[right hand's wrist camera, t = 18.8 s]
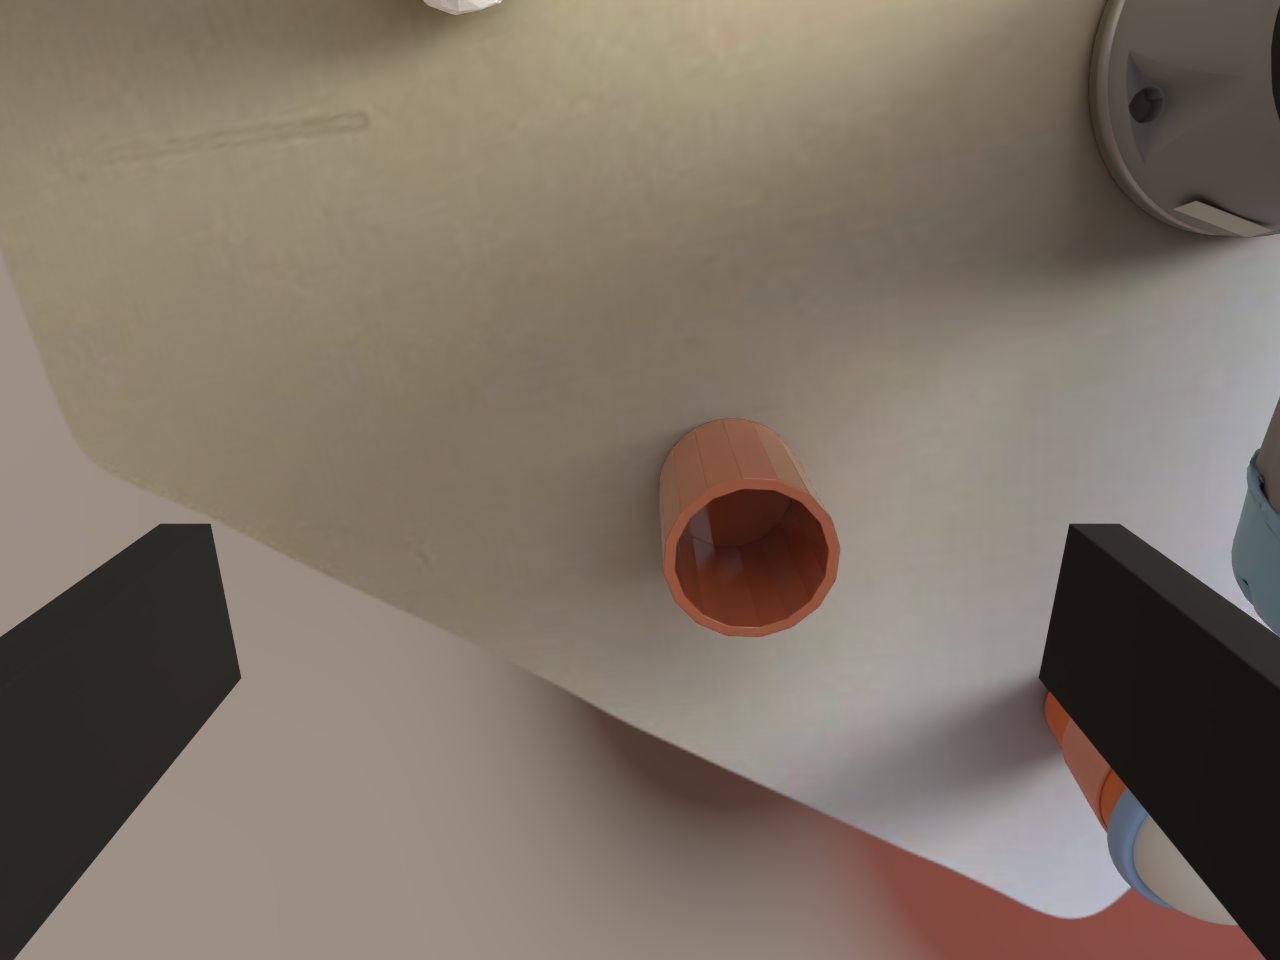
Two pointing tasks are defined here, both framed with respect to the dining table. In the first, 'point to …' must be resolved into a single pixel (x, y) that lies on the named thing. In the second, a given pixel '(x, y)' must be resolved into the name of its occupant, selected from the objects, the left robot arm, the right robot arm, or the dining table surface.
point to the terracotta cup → (743, 530)
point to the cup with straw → (1132, 828)
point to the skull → (461, 5)
